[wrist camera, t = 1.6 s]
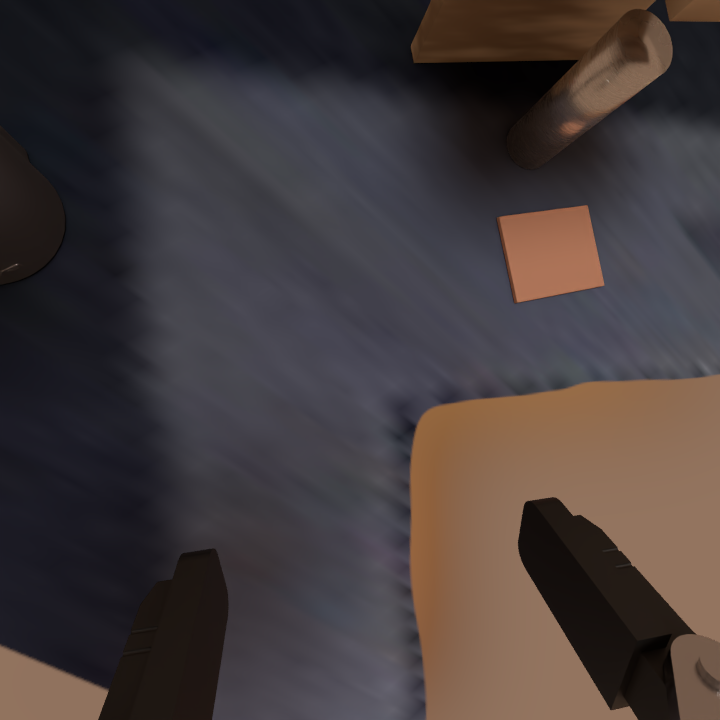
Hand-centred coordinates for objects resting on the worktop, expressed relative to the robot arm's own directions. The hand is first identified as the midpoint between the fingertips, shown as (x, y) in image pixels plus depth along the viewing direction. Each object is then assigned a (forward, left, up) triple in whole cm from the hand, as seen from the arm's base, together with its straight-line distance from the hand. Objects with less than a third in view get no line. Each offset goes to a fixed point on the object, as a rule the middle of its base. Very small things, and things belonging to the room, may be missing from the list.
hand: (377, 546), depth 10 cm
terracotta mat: (-11, +27, -22) cm, 36 cm away
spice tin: (-21, +27, -22) cm, 41 cm away
